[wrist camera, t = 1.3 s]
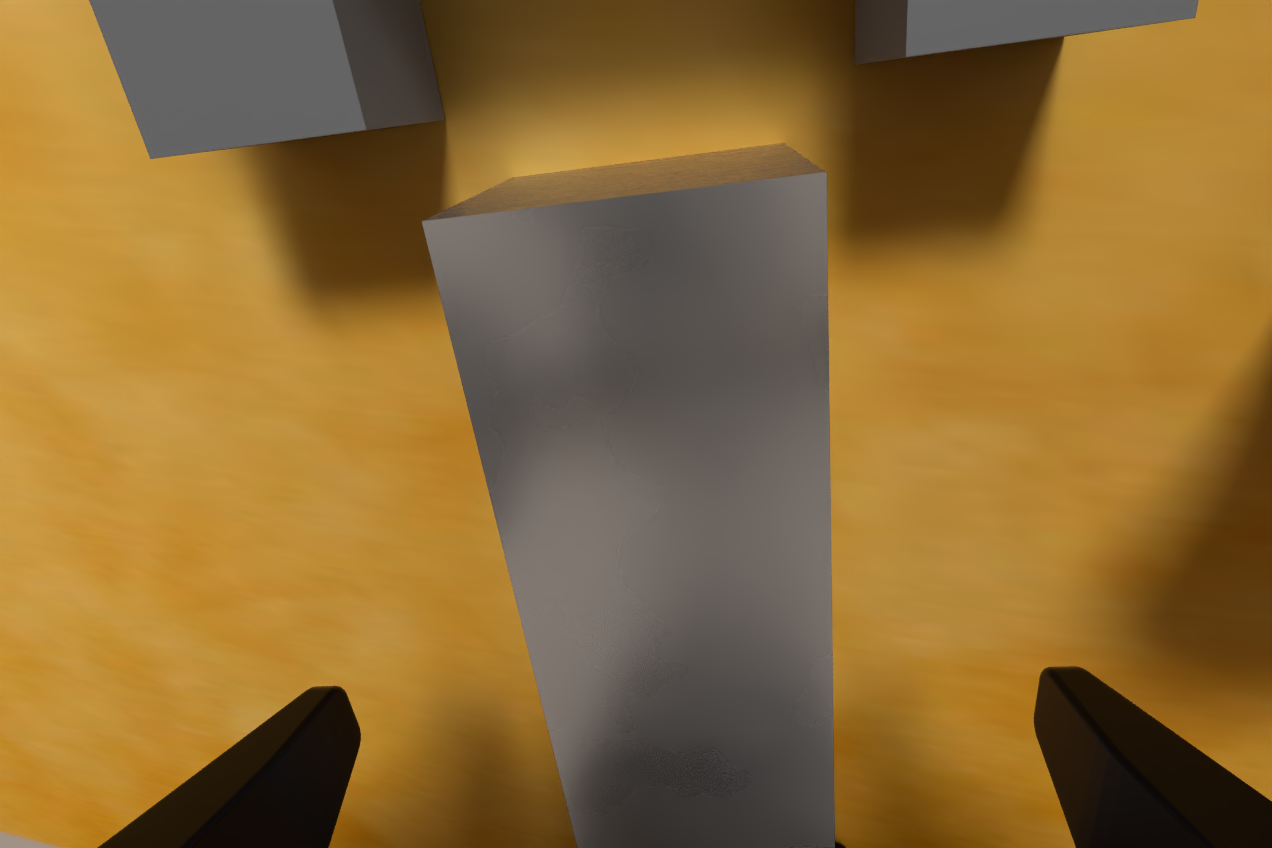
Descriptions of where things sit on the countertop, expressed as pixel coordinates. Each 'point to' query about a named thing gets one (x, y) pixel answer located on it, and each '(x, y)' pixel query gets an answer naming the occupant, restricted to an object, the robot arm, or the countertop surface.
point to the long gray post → (662, 481)
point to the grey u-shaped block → (403, 68)
